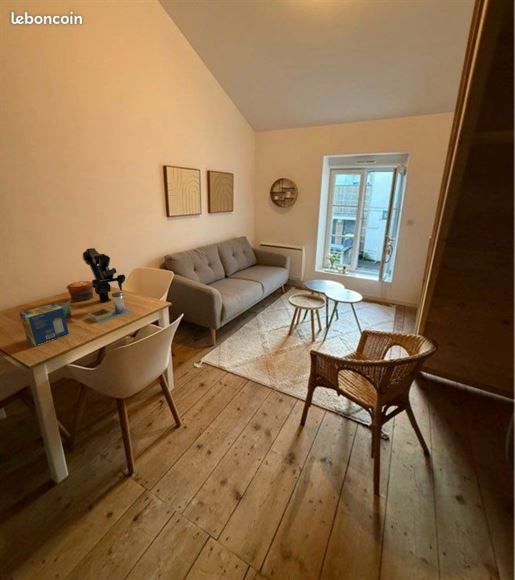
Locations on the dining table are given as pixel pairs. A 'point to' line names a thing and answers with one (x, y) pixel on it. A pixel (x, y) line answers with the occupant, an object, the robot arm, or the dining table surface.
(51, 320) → the protein box
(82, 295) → the food container
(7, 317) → the dining table surface
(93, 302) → the dining table surface
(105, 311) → the tan square tray
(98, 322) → the board
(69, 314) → the food container
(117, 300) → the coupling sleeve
